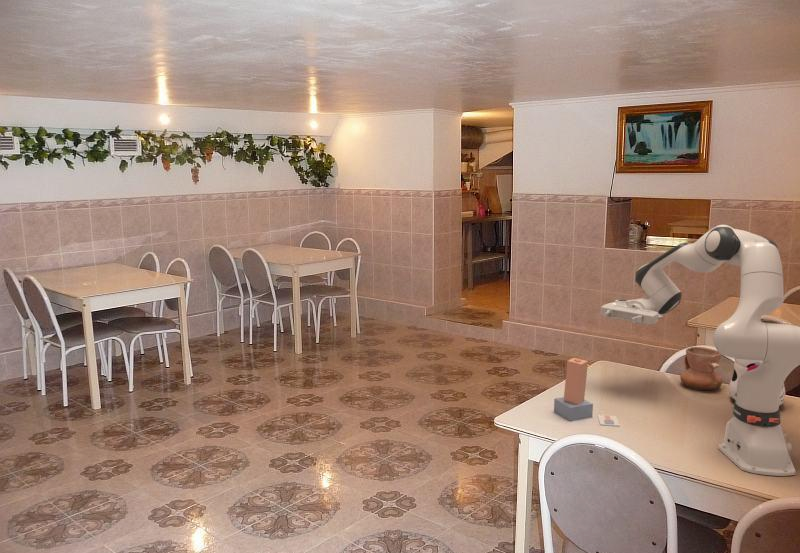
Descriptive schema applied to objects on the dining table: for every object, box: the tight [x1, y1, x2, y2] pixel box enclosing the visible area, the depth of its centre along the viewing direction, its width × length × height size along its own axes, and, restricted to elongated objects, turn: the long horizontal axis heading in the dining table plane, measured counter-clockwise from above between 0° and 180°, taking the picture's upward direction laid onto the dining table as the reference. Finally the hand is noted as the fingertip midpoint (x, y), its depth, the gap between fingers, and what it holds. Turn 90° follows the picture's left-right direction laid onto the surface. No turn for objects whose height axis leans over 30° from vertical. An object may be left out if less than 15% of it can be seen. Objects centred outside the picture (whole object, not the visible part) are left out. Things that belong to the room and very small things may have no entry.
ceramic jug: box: [680, 346, 723, 391], centre depth 247 cm, size 18×14×14 cm
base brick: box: [553, 396, 594, 422], centre depth 221 cm, size 9×9×5 cm
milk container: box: [728, 358, 786, 407], centre depth 230 cm, size 17×17×18 cm
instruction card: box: [597, 414, 621, 427], centre depth 216 cm, size 8×6×1 cm
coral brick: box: [563, 357, 589, 405], centre depth 220 cm, size 5×5×14 cm
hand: (618, 317), depth 230 cm, fingers open, 8 cm apart
